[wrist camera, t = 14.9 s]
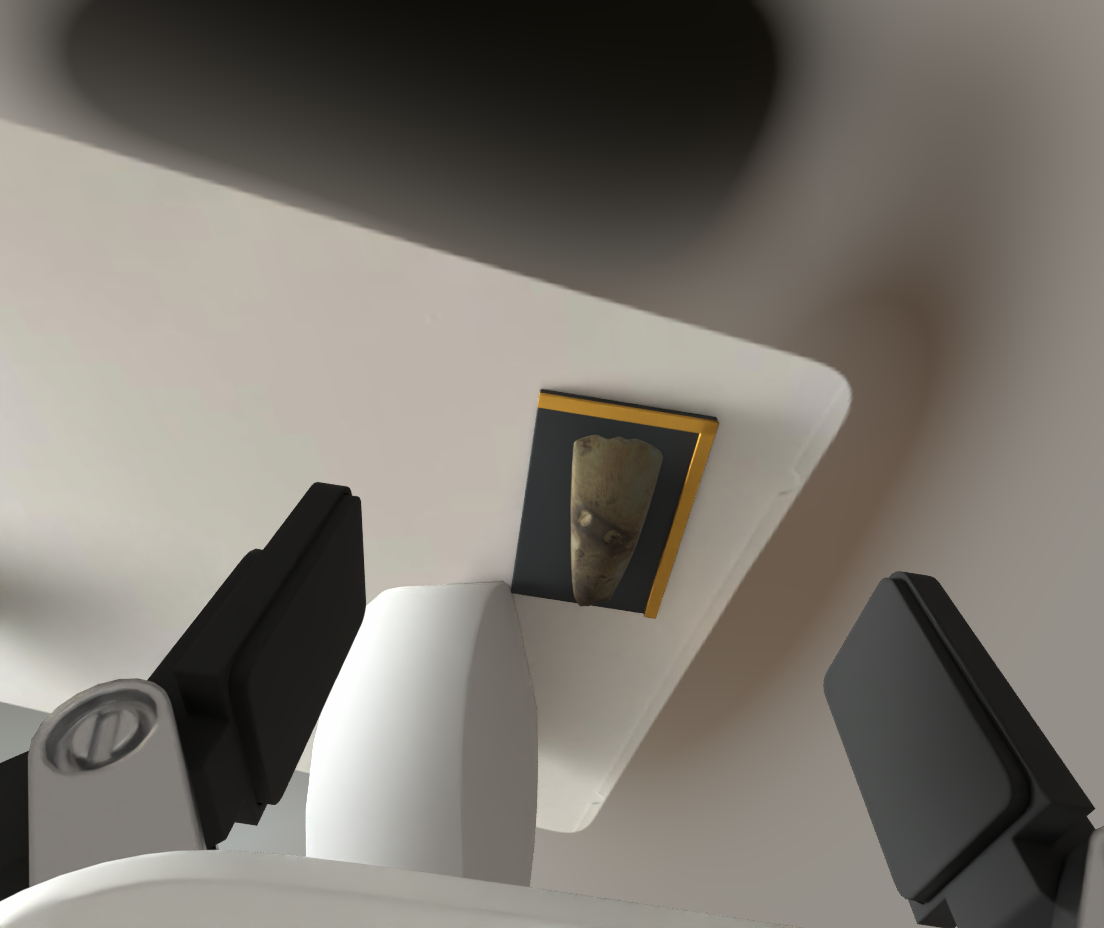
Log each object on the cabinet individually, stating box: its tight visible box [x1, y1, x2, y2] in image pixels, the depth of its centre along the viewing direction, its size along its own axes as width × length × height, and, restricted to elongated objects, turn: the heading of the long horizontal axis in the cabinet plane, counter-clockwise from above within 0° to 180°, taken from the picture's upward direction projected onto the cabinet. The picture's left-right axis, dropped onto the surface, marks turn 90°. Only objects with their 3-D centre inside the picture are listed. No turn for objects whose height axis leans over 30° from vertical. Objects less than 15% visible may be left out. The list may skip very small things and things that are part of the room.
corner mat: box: [511, 389, 719, 619], centre depth 36 cm, size 15×10×1 cm, turn 172°
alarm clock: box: [306, 582, 538, 887], centre depth 36 cm, size 21×8×20 cm, turn 7°
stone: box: [571, 435, 663, 606], centre depth 35 cm, size 13×5×2 cm, turn 178°
